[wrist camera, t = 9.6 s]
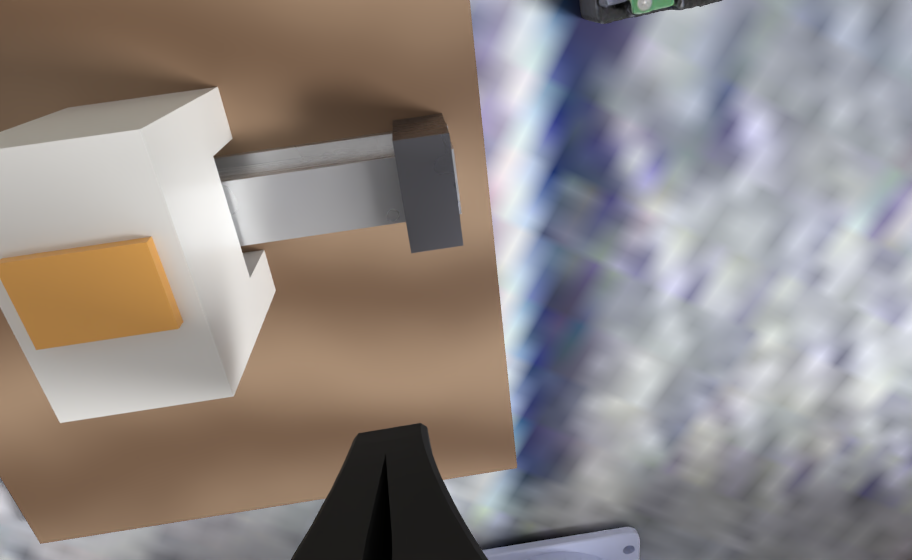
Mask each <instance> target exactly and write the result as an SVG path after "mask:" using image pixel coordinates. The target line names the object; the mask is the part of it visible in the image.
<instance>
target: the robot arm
mask: <svg viewBox="0 0 912 560" xmlns="http://www.w3.org/2000/svg"><path fill="white" fill-rule="evenodd" d="M291 560H640V538H639V535H638V532H637V530H636V529H635V528H632V527H622V528H615V529H609V530H603V531H597V532H591V533H585V534H578V535H572V536H566V537H560V538H554V539H548V540H541V541H535V542H529V543H523V544H517V545H511V546H505V547H498V548H492V549H486V550H481V548H480V547H479V545H478V543H477V542H476V540H475V539H474V537H473V535H472V534H471V532H470V530H469V529H468V527H467V525H466V524H465V522H464V520H463V519H462V517H461V515H460V513H459V511H458V509H457V508H456V506H455V504H454V502H453V500H452V498H451V496H450V494H449V492H448V490H447V488H446V486H445V484H444V482H443V479H442V477H441V475H440V473H439V470H438V468H437V465H436V462H435V460H434V457H433V453H432V448H431V443H430V438H429V433H428V428H427V426H425V425H423V424H422V423H417V424H411V425H405V426H399V427H393V428H387V429H381V430H375V431H369V432H363V433H358V434H357V436H356V437H355V438H354V440H353V442H352V445H351V447H350V449H349V452H348V454H347V456H346V459H345V461H344V463H343V465H342V467H341V469H340V472H339V474H338V476H337V478H336V480H335V482H334V484H333V486H332V488H331V490H330V492H329V494H328V496H327V497H326V499H325V501H324V503H323V505H322V507H321V509H320V511H319V513H318V514H317V516H316V518H315V520H314V522H313V524H312V525H311V527H310V529H309V530H308V532H307V534H306V535H305V537H304V539H303V540H302V542H301V544H300V545H299V547H298V549H297V550H296V552H295V554H294V555H293V557H292V559H291Z"/></svg>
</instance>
